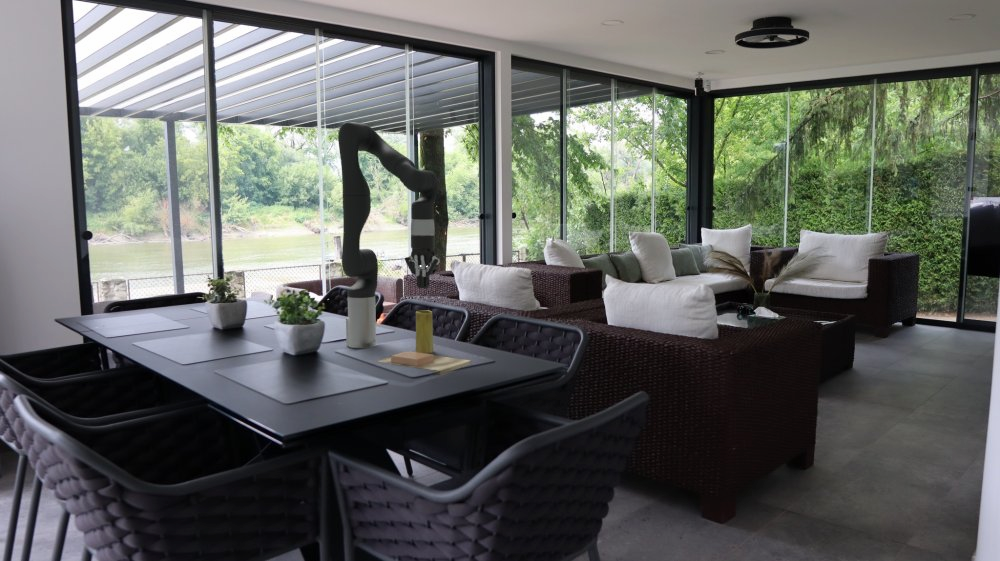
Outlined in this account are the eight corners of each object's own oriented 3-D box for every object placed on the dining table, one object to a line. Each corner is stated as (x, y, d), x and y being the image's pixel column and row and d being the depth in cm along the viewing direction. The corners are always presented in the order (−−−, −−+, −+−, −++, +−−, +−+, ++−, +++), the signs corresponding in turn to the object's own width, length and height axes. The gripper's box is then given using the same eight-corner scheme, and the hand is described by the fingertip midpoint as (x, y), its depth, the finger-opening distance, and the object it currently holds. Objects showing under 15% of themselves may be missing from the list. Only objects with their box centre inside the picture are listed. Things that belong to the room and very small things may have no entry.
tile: (390, 355, 219) (417, 359, 214) (407, 351, 226) (433, 354, 220) (390, 362, 219) (417, 366, 214) (407, 357, 226) (433, 361, 221)
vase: (424, 358, 231) (424, 313, 229) (410, 355, 235) (410, 311, 233) (437, 354, 236) (437, 311, 234) (423, 352, 239) (423, 309, 238)
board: (375, 365, 221) (375, 361, 221) (408, 355, 235) (408, 352, 234) (440, 374, 209) (440, 370, 208) (470, 364, 222) (470, 360, 222)
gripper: (398, 233, 231) (398, 287, 233) (432, 234, 224) (433, 290, 226) (412, 232, 237) (413, 285, 239) (447, 233, 230) (447, 288, 232)
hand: (423, 287), depth 233 cm, fingers closed
